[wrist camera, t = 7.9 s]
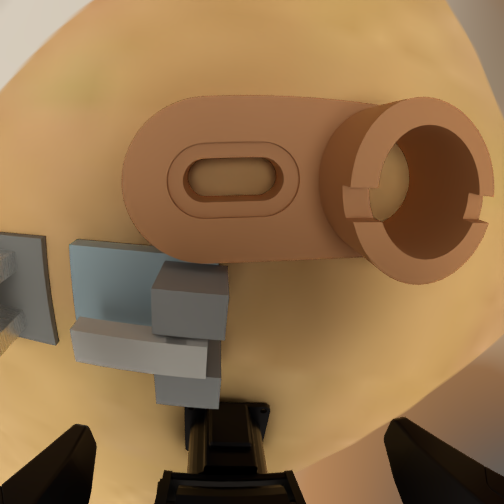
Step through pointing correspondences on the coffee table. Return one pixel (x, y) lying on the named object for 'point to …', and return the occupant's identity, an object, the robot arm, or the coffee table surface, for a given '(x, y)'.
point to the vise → (151, 317)
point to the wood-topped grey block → (7, 318)
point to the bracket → (313, 182)
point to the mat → (30, 286)
